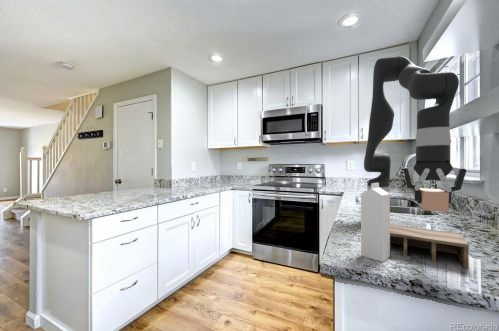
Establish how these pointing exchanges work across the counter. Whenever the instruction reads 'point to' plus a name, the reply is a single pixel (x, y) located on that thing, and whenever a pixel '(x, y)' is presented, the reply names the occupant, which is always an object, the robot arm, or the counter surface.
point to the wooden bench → (431, 241)
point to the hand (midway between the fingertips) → (431, 203)
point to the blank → (434, 200)
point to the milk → (375, 223)
